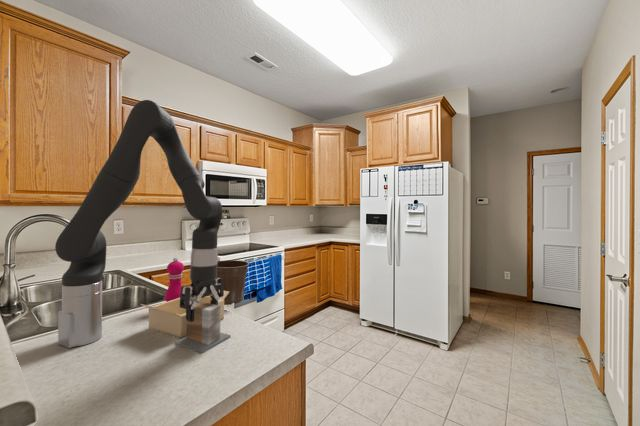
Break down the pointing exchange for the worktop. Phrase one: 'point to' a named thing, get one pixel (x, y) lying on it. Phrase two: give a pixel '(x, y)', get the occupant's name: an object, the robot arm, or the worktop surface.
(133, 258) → the worktop surface
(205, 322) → the block
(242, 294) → the plant pot
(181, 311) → the carton
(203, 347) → the plate
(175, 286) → the pepper mill
